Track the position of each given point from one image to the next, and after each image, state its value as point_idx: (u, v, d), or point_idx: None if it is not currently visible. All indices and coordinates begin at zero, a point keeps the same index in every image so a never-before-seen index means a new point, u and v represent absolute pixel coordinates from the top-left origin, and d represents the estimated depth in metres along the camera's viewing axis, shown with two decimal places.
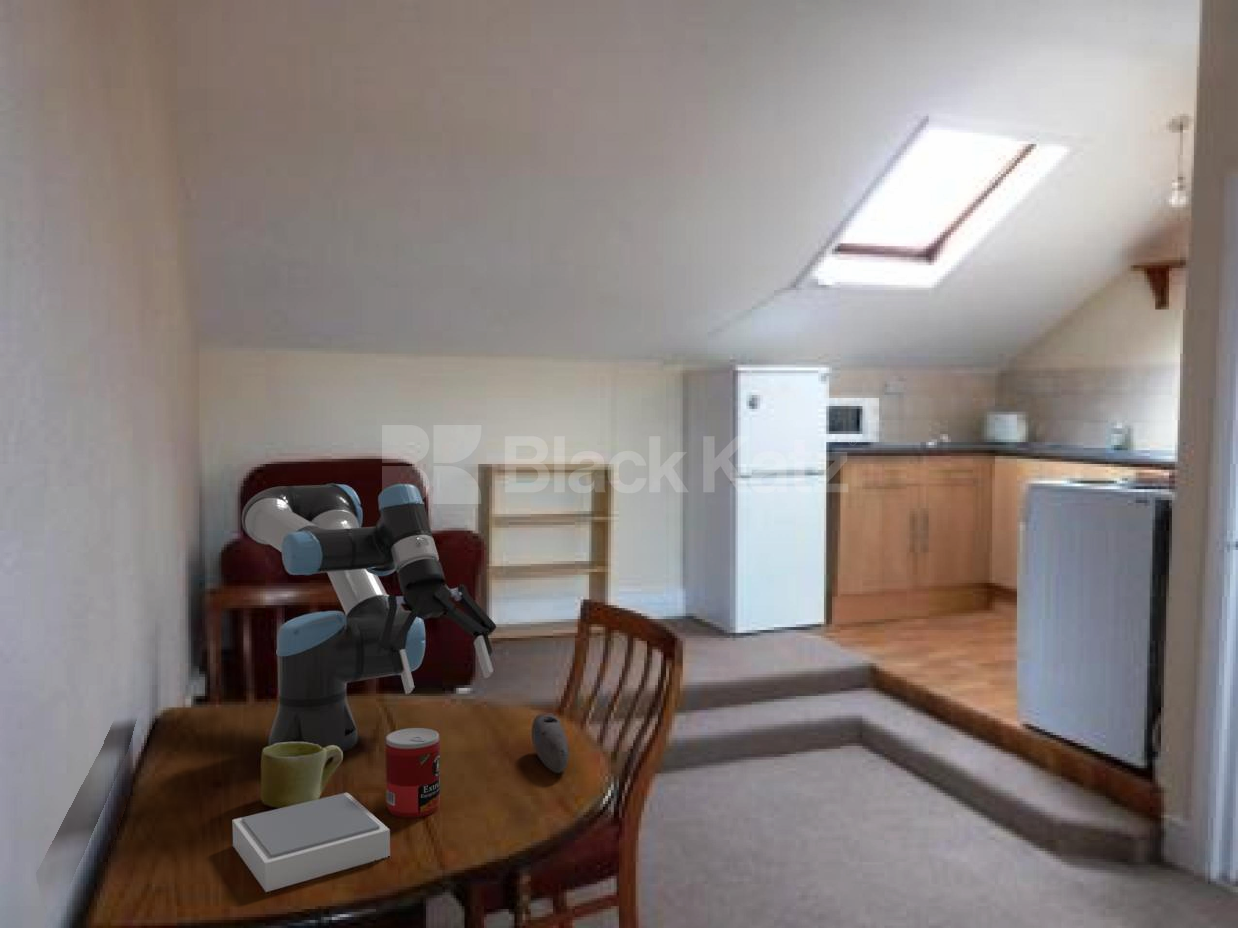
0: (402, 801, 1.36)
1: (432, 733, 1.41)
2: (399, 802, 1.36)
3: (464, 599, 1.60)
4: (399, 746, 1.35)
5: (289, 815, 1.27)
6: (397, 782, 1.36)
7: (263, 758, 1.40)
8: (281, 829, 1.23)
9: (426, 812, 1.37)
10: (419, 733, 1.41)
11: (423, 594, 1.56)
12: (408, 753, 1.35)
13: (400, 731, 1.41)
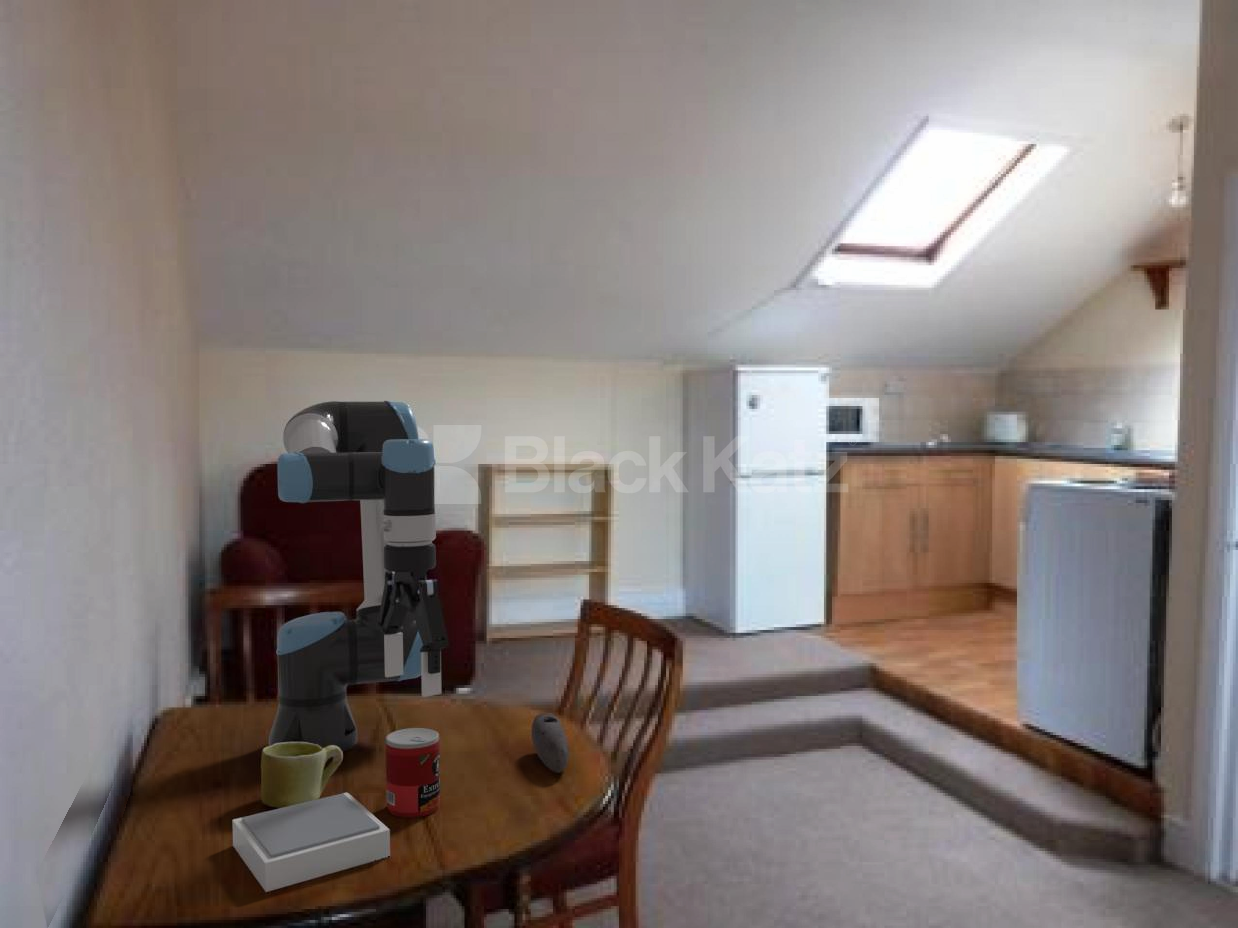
0: (402, 801, 1.36)
1: (432, 733, 1.41)
2: (399, 802, 1.36)
3: None
4: (399, 746, 1.35)
5: (289, 815, 1.27)
6: (397, 782, 1.36)
7: (263, 758, 1.40)
8: (281, 829, 1.23)
9: (426, 812, 1.37)
10: (419, 733, 1.41)
11: (394, 583, 1.38)
12: (408, 753, 1.35)
13: (400, 731, 1.41)
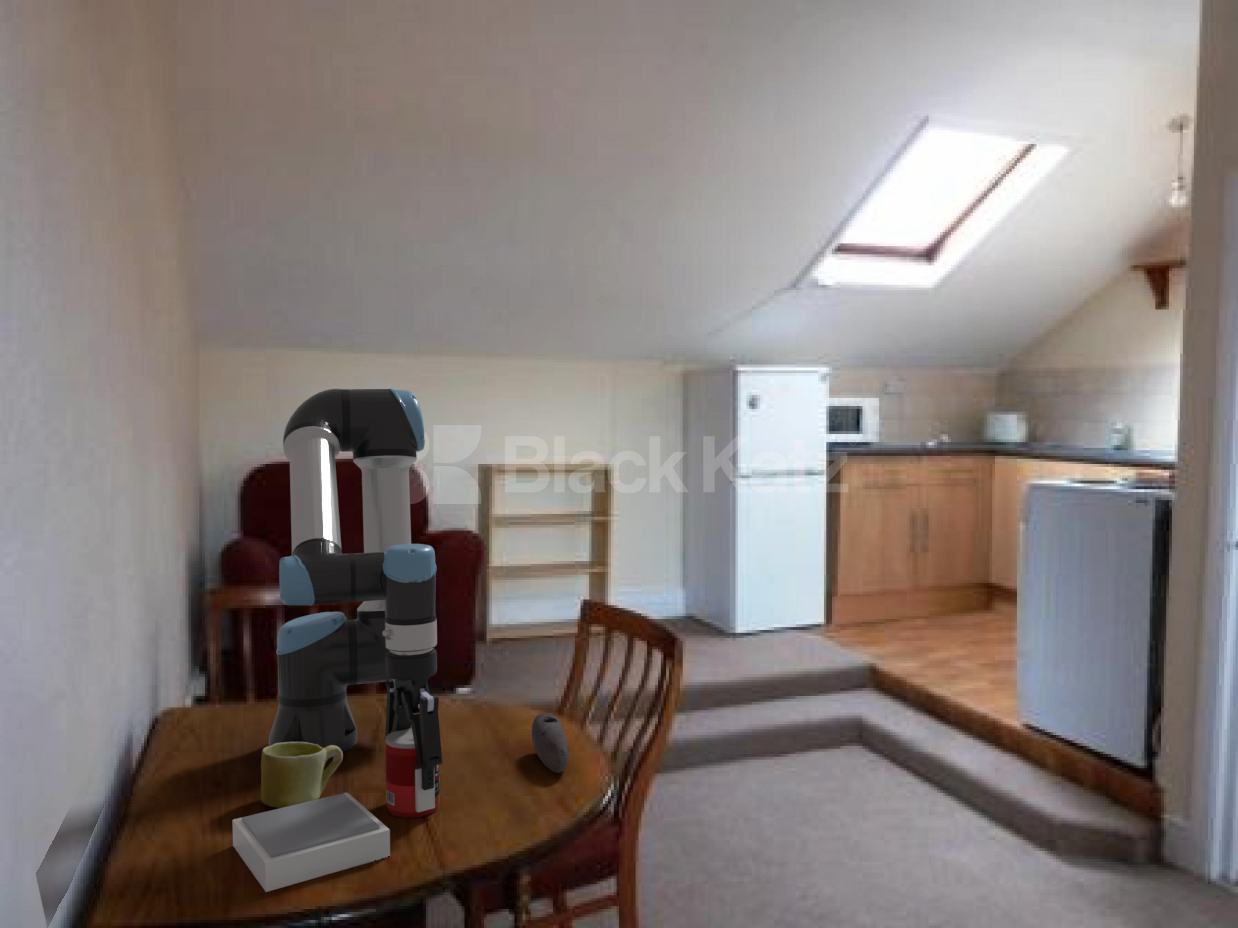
0: (402, 801, 1.36)
1: None
2: (399, 802, 1.36)
3: None
4: (399, 746, 1.35)
5: (289, 815, 1.27)
6: (396, 782, 1.36)
7: (263, 758, 1.40)
8: (281, 829, 1.23)
9: (426, 812, 1.37)
10: None
11: (395, 689, 1.39)
12: (407, 753, 1.35)
13: (400, 731, 1.41)
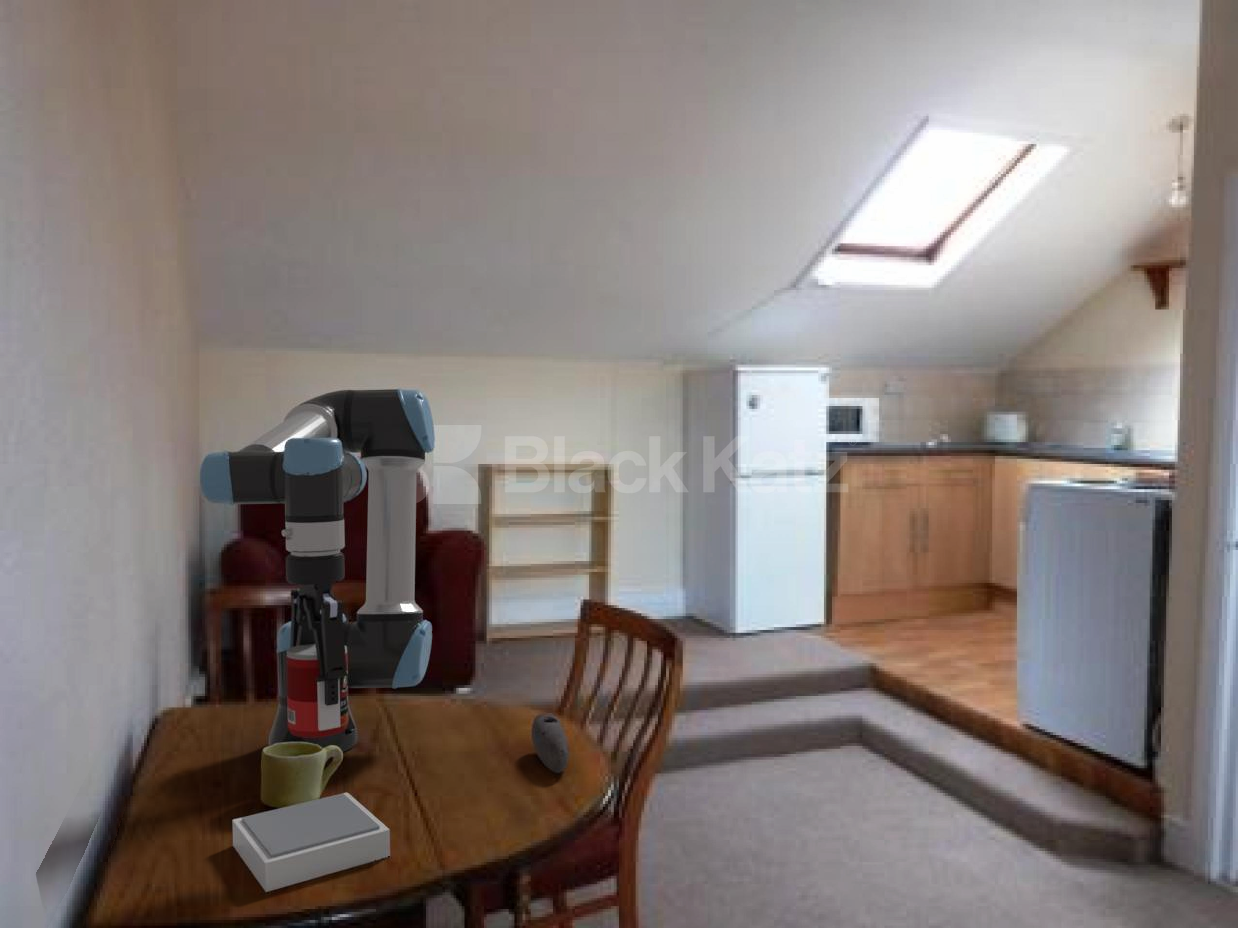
0: (303, 719, 1.22)
1: None
2: (300, 720, 1.22)
3: None
4: (300, 658, 1.22)
5: (289, 815, 1.27)
6: (297, 698, 1.22)
7: (263, 758, 1.40)
8: (281, 829, 1.23)
9: (330, 731, 1.23)
10: None
11: (298, 597, 1.25)
12: (309, 665, 1.22)
13: (305, 645, 1.28)
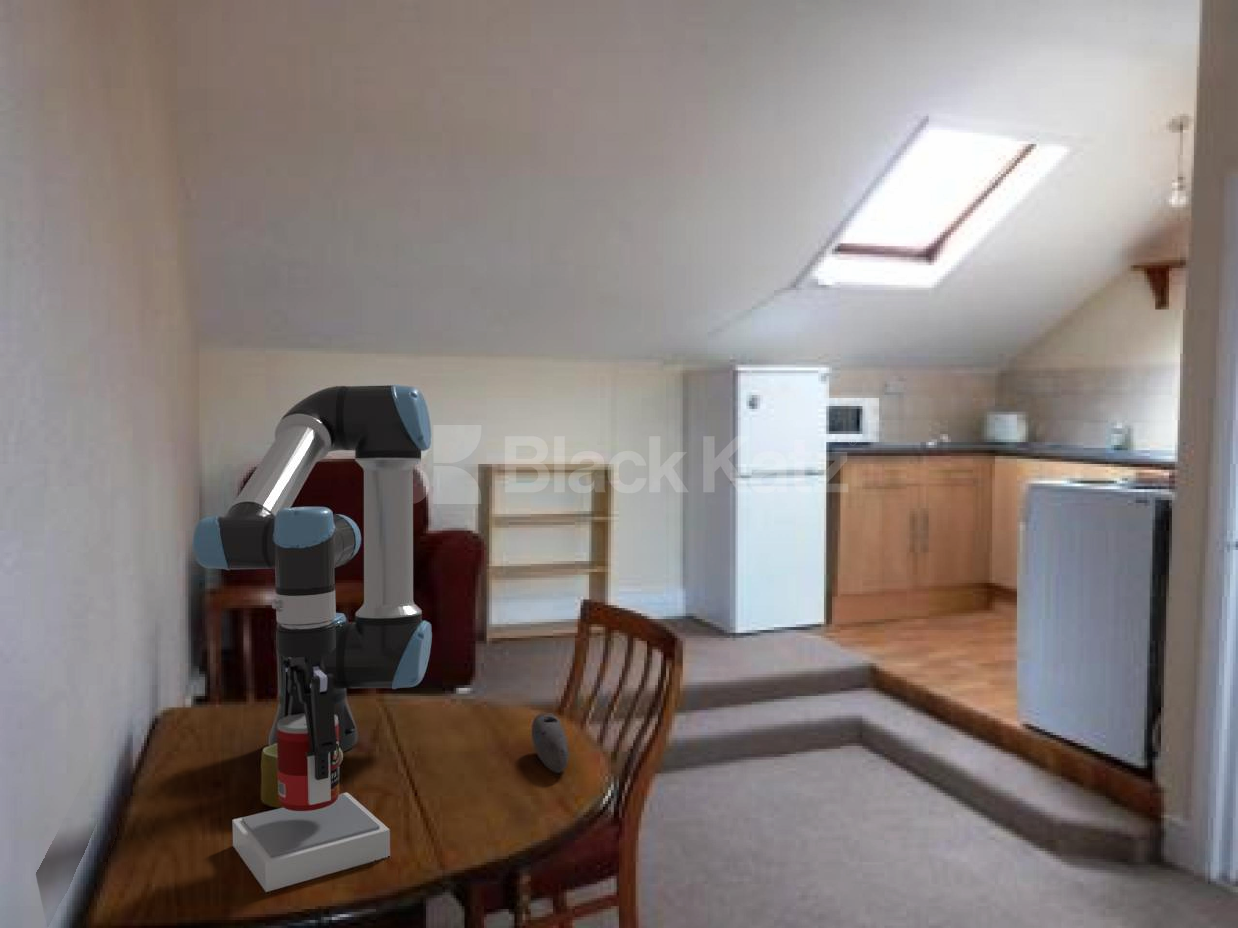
0: (293, 792, 1.21)
1: None
2: (290, 793, 1.21)
3: None
4: (290, 731, 1.21)
5: (289, 815, 1.27)
6: (287, 771, 1.21)
7: (263, 758, 1.40)
8: (281, 829, 1.23)
9: (321, 805, 1.22)
10: None
11: (289, 668, 1.24)
12: (299, 738, 1.21)
13: (296, 715, 1.27)
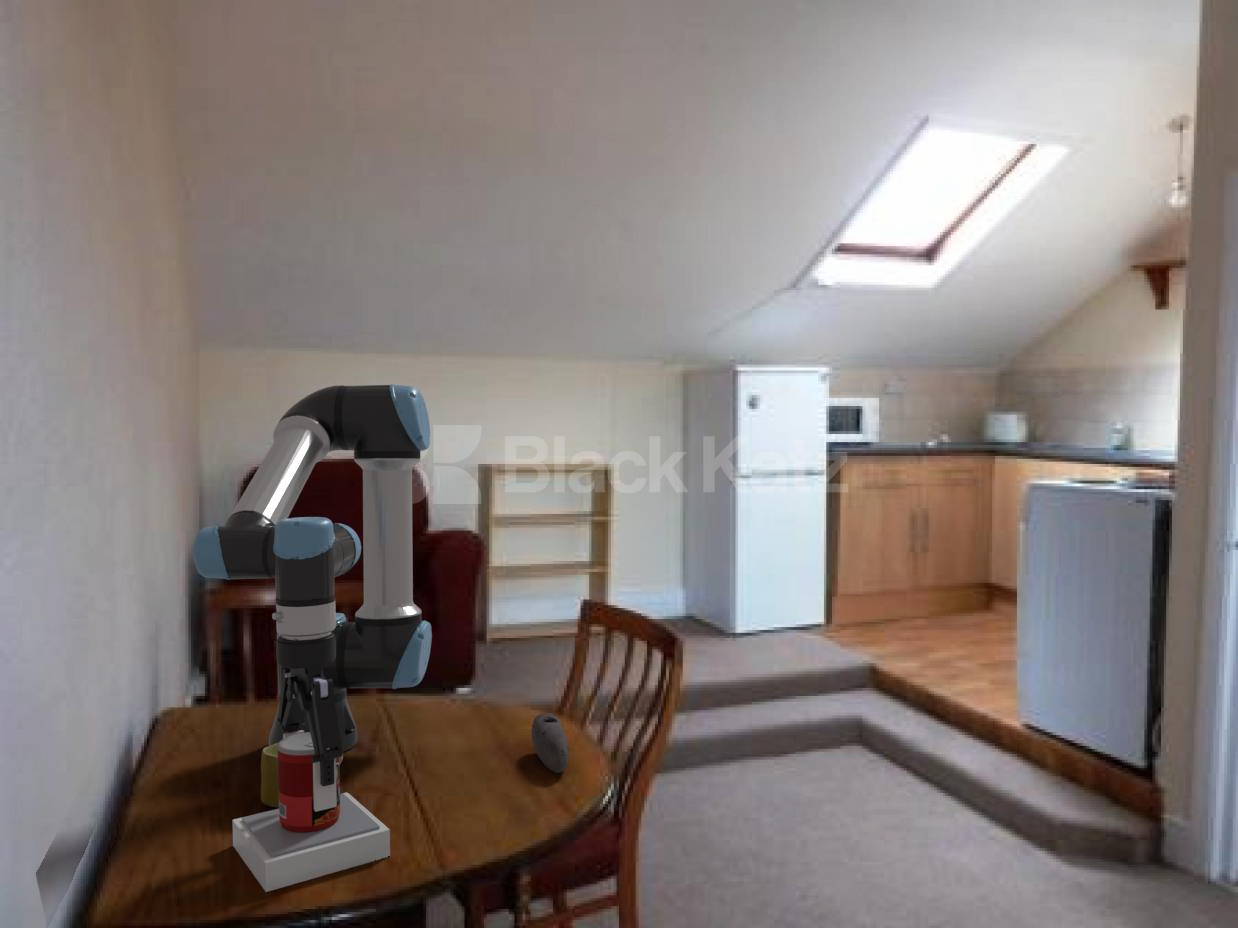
0: (294, 814, 1.22)
1: None
2: (291, 815, 1.22)
3: None
4: (290, 753, 1.21)
5: None
6: (288, 793, 1.22)
7: (263, 758, 1.40)
8: (281, 829, 1.23)
9: (322, 826, 1.22)
10: None
11: (289, 679, 1.24)
12: (300, 760, 1.21)
13: (297, 735, 1.27)
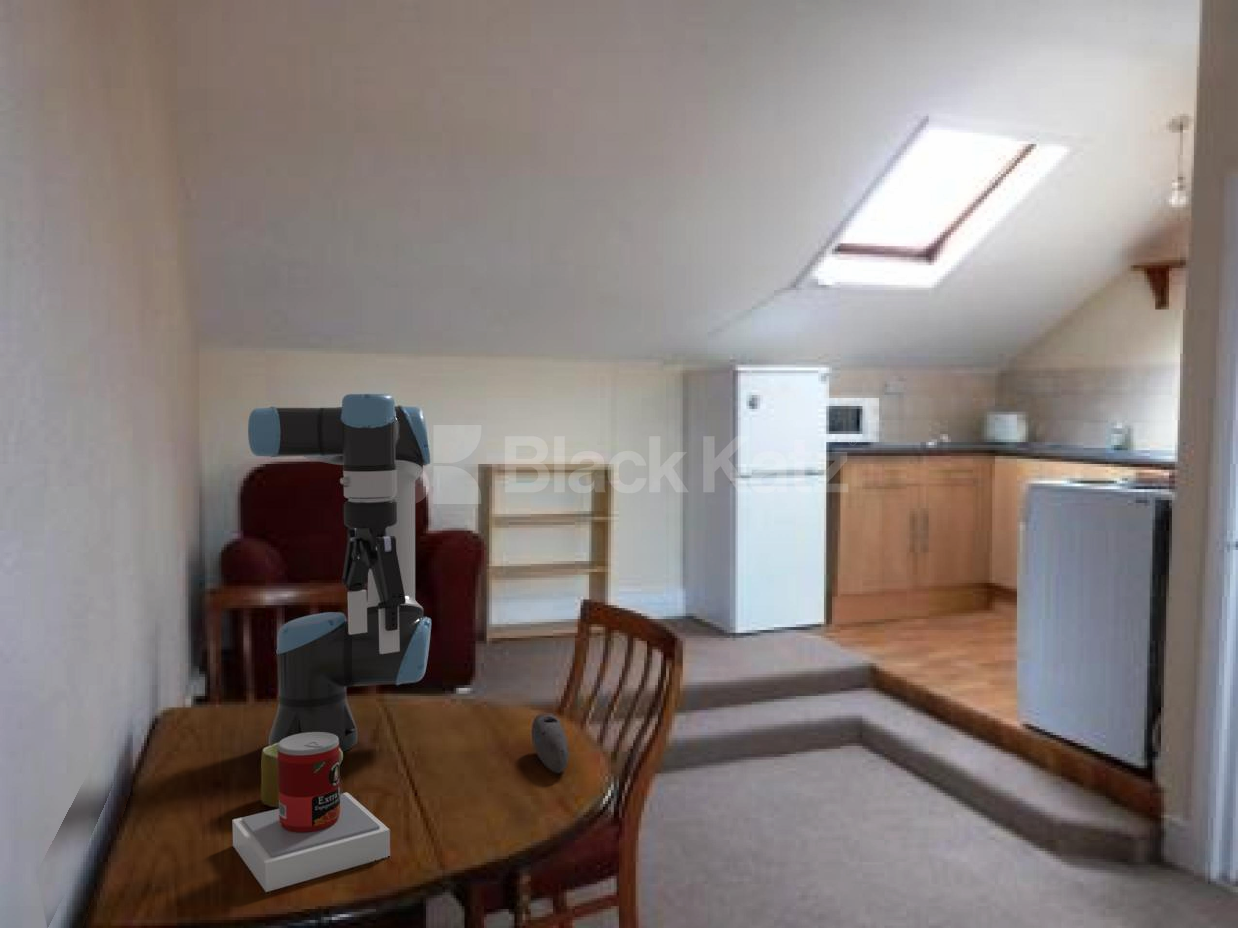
0: (294, 814, 1.22)
1: (331, 738, 1.26)
2: (291, 815, 1.22)
3: None
4: (290, 753, 1.21)
5: None
6: (288, 793, 1.22)
7: (263, 758, 1.40)
8: (281, 829, 1.23)
9: (322, 826, 1.22)
10: (317, 738, 1.27)
11: (355, 540, 1.37)
12: (300, 760, 1.21)
13: (297, 735, 1.27)
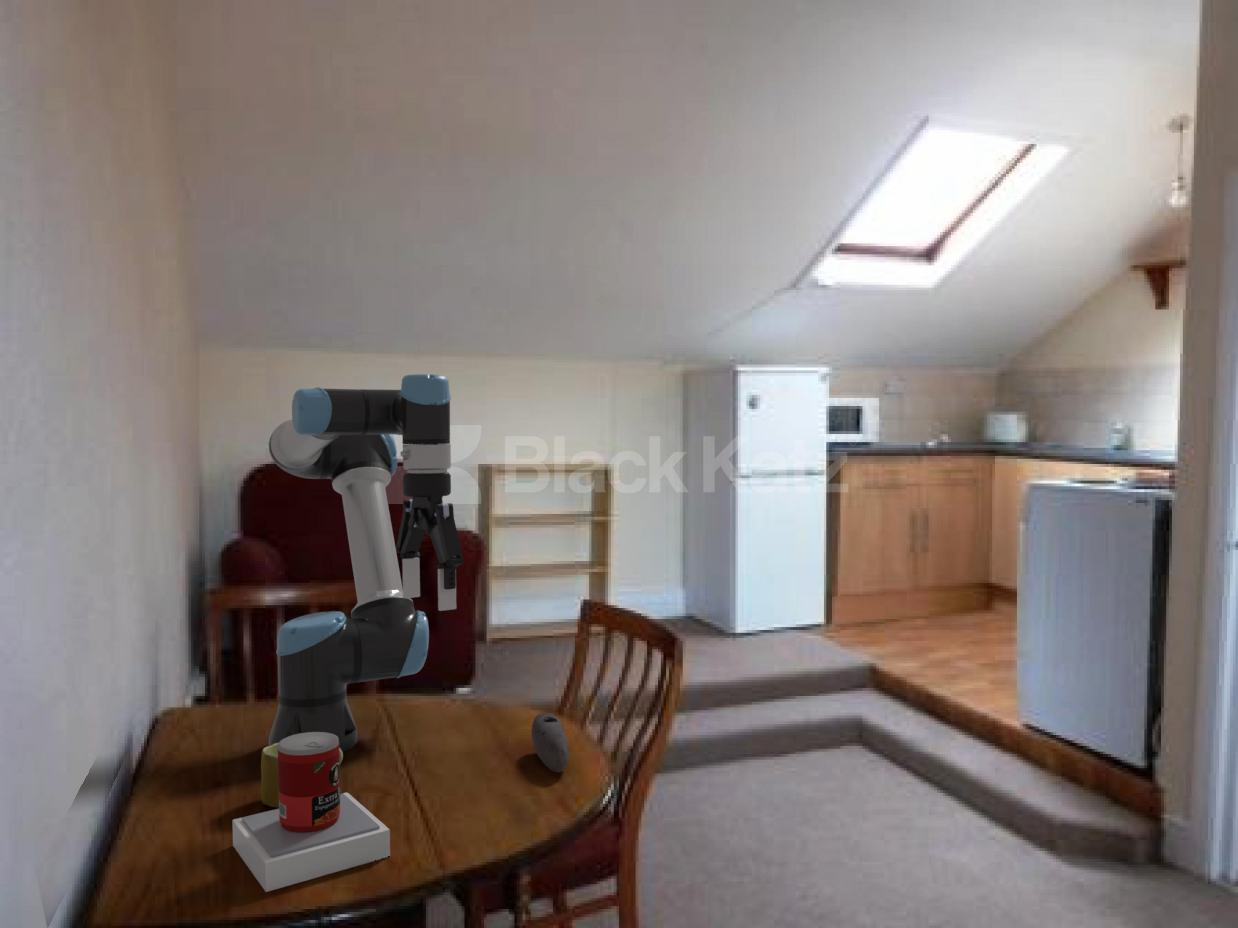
0: (294, 814, 1.22)
1: (331, 738, 1.26)
2: (291, 815, 1.22)
3: None
4: (290, 753, 1.21)
5: None
6: (288, 793, 1.22)
7: (263, 758, 1.40)
8: (281, 829, 1.23)
9: (322, 826, 1.22)
10: (318, 738, 1.27)
11: (412, 509, 1.49)
12: (300, 760, 1.21)
13: (297, 735, 1.27)
